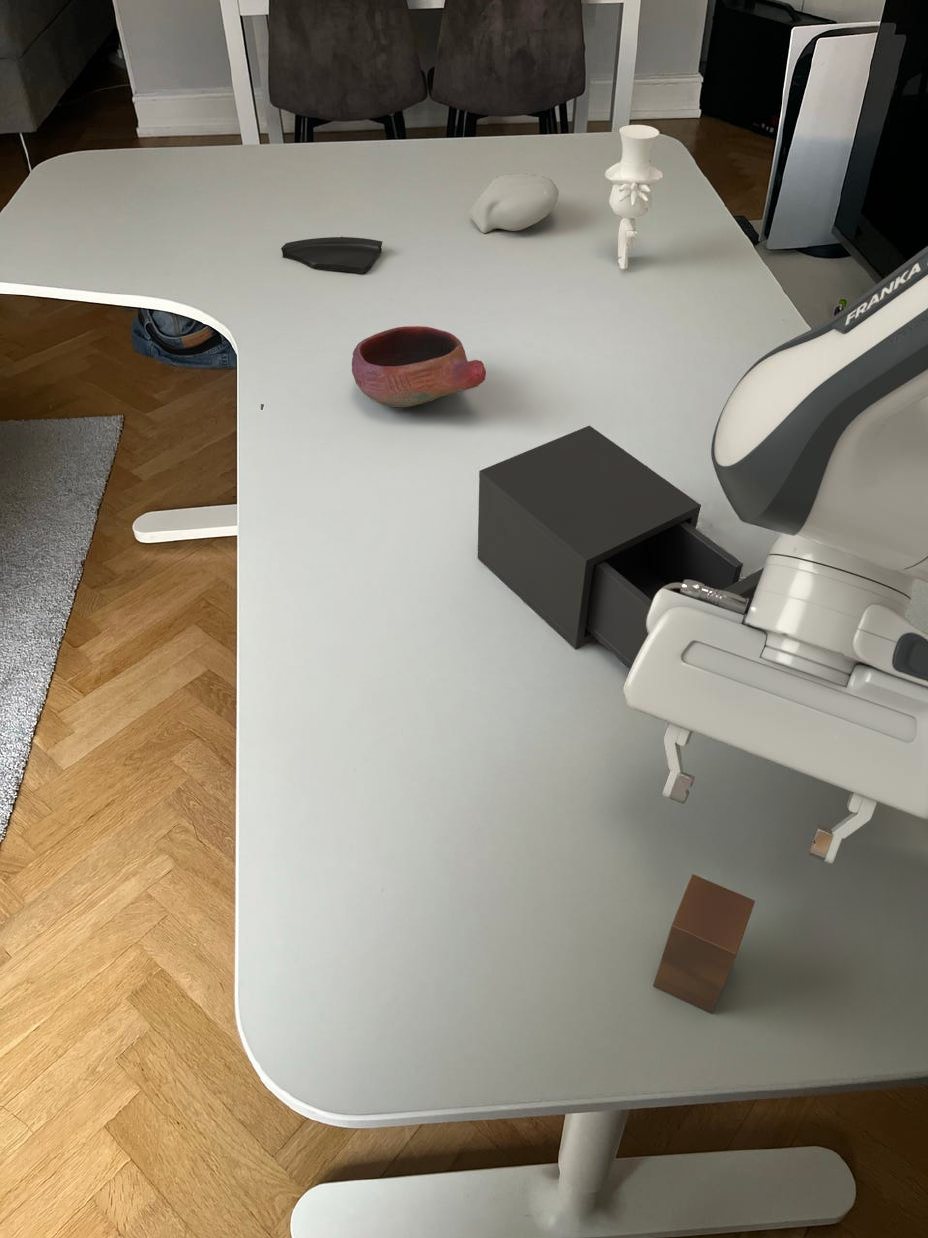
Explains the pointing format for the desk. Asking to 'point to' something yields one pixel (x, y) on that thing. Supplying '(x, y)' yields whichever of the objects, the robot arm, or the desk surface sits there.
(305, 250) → the curved wedge
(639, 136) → the figurine
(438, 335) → the bowl
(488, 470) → the drawer cabinet
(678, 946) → the walnut block
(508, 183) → the shell shaped sculpture
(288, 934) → the desk surface
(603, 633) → the drawer
